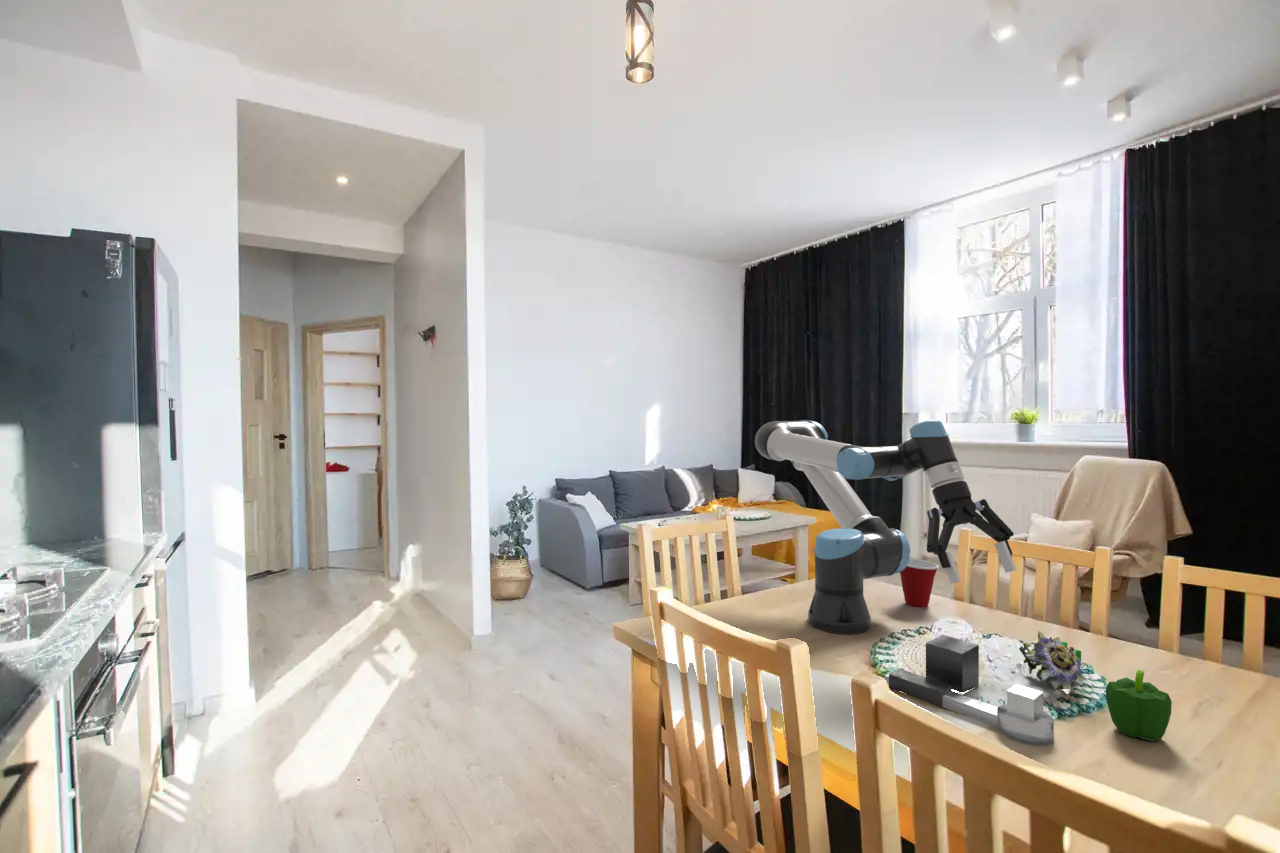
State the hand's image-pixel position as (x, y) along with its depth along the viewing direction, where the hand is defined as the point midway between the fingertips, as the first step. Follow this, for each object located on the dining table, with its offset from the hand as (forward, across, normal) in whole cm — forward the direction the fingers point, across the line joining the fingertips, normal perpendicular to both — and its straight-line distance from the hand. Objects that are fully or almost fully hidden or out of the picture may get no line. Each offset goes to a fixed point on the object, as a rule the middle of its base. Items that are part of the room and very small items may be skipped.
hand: (984, 577), depth 133 cm
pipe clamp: (+21, +10, 0) cm, 23 cm away
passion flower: (+22, 0, -6) cm, 23 cm away
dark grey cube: (+18, -18, -4) cm, 26 cm away
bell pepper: (+29, 0, -24) cm, 38 cm away
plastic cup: (+3, +6, +39) cm, 40 cm away
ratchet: (+22, -23, -13) cm, 34 cm away
